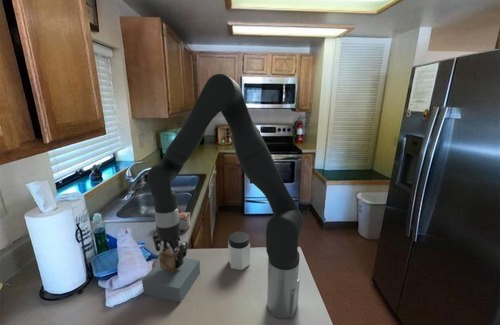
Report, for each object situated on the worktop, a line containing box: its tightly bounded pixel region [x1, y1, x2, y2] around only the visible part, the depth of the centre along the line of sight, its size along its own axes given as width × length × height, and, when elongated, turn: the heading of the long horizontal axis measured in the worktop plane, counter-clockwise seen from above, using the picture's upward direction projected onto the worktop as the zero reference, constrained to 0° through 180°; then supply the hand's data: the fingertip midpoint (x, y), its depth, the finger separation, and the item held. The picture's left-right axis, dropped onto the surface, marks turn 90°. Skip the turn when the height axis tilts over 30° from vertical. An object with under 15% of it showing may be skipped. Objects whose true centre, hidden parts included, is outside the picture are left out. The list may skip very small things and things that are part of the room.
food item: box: [178, 209, 191, 231], centre depth 119 cm, size 14×8×10 cm, turn 84°
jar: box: [227, 231, 251, 271], centre depth 93 cm, size 9×8×12 cm
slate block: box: [141, 257, 201, 304], centre depth 84 cm, size 14×14×6 cm
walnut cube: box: [158, 247, 184, 273], centre depth 82 cm, size 6×6×6 cm
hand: (171, 264), depth 82 cm, fingers closed on walnut cube, 5 cm apart
